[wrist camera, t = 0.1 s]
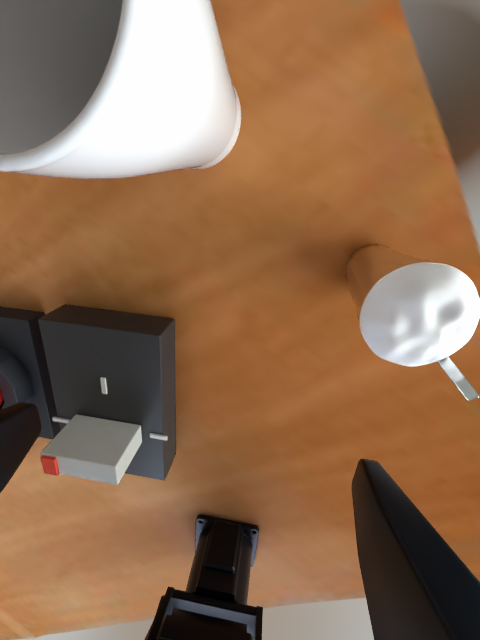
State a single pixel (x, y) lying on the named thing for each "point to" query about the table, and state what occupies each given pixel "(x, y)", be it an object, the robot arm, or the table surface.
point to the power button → (1, 397)
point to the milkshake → (413, 309)
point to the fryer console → (116, 376)
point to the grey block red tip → (92, 449)
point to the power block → (26, 366)
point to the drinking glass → (113, 88)
